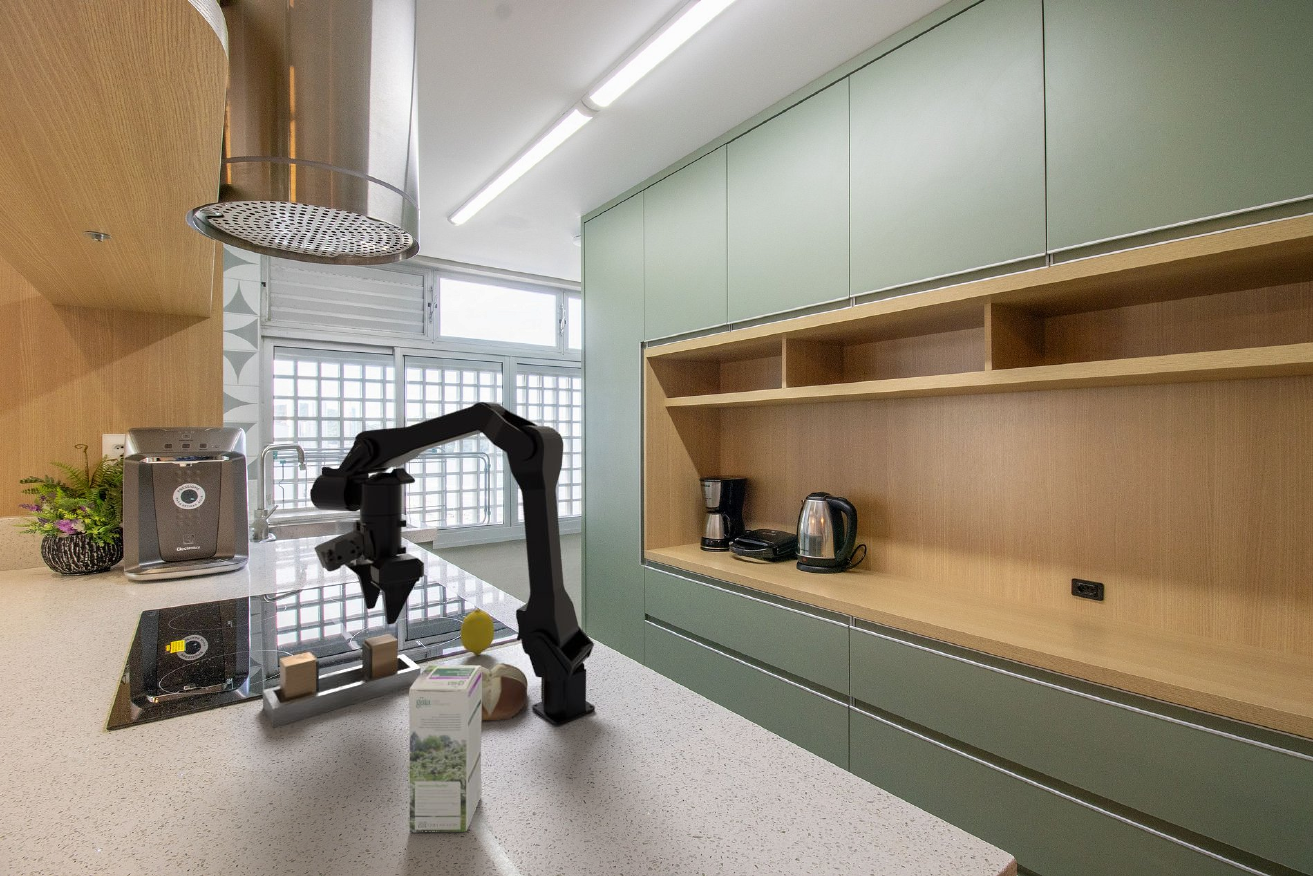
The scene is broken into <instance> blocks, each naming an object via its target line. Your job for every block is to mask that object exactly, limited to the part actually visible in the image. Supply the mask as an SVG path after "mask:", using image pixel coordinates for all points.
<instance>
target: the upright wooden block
mask: <svg viewBox="0 0 1313 876" xmlns="http://www.w3.org/2000/svg"><path fill="white" fill-rule="evenodd" d="M361 645H362V646H361V650H362V651H361V654H362V655H361V659H362V660H361V663H362V664H361V665H362V672H363V673H364V674H365V679H366V680H368V679H371V678H375V677H379V676H382V675H386V674H390V673H393V672H397V671H398V655H399V654H398V653H399V640H398V639H397V638H396V637H394V636H393V635H392V634H391V633H386V634H382V635H378V636H374V637H369V638H364V642H362V643H361Z"/></svg>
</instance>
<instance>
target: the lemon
mask: <svg viewBox="0 0 1313 876" xmlns="http://www.w3.org/2000/svg"><path fill="white" fill-rule="evenodd" d="M494 636H495V626H494V622H493V618H492V617H491V616H490V615H489V613H487V612H486V611H483V610H481V609H480V608H476V609H475V610H474V611H472V612H470V613H469V614H467V615H466V616H465V617H464V619H463V621H462V623H461V628H460V640H461V644H462V646H463V647H464V649H465V650H466V651H467V652H470V653H472V654H474V656H480V654H481V653H483V652H485V651H486V650H487V649H488V648H489V647H491V645H492V642H493V640H494V638H495V637H494Z"/></svg>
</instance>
